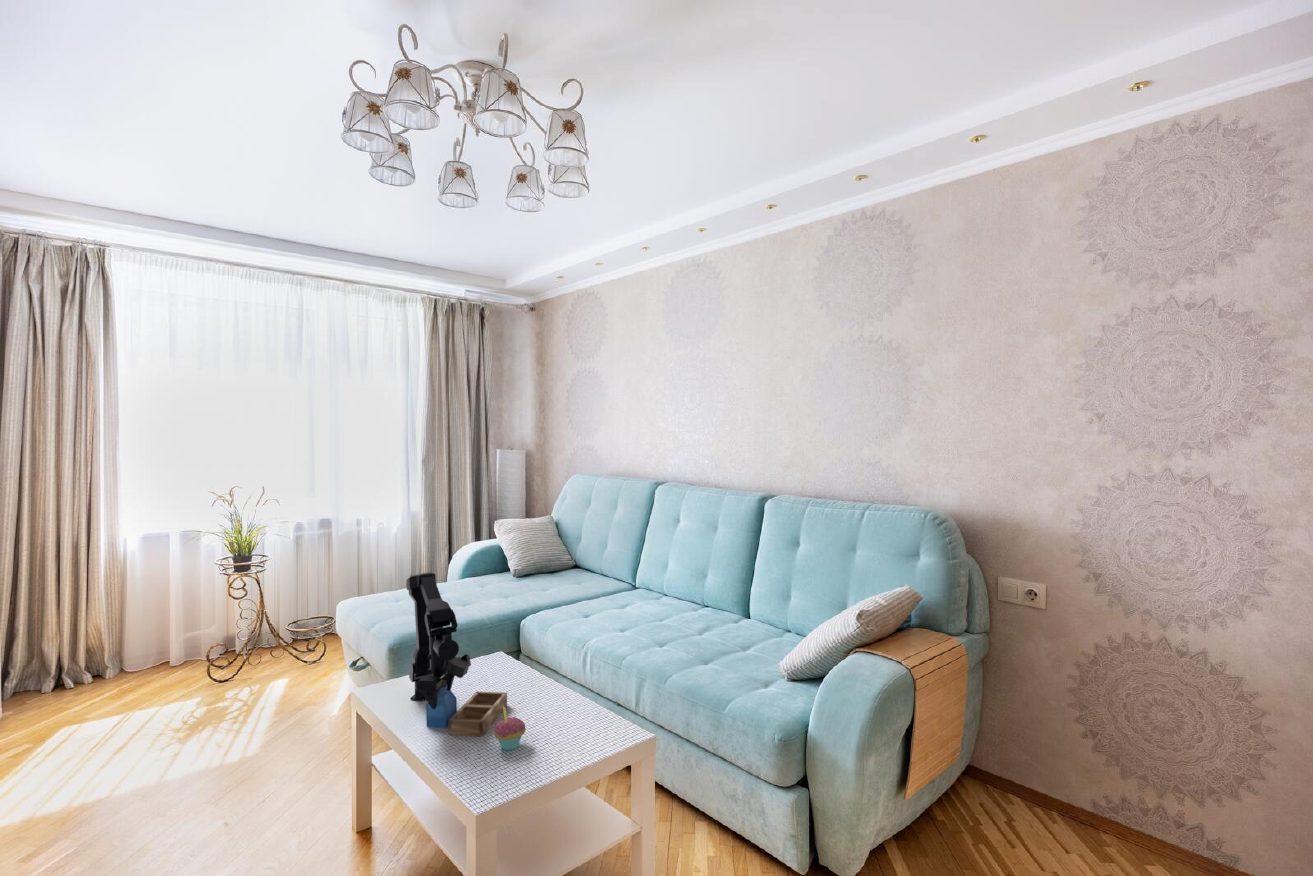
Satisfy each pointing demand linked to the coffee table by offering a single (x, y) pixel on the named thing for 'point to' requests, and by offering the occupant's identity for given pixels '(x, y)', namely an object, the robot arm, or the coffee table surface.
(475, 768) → the coffee table surface
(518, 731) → the cupcake
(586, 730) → the coffee table surface
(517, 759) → the coffee table surface
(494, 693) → the wooden divided tray
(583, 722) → the coffee table surface
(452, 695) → the perfume bottle
